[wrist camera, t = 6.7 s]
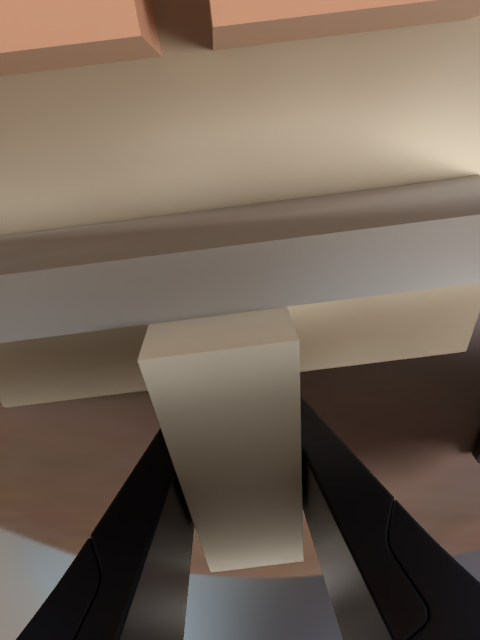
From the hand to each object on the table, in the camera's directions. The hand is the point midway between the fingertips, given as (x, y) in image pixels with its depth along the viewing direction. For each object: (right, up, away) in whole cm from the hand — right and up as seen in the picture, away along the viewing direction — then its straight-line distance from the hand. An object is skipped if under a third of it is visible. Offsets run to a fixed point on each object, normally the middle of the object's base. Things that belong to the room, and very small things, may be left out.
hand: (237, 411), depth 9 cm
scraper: (0, +1, +1) cm, 1 cm away
